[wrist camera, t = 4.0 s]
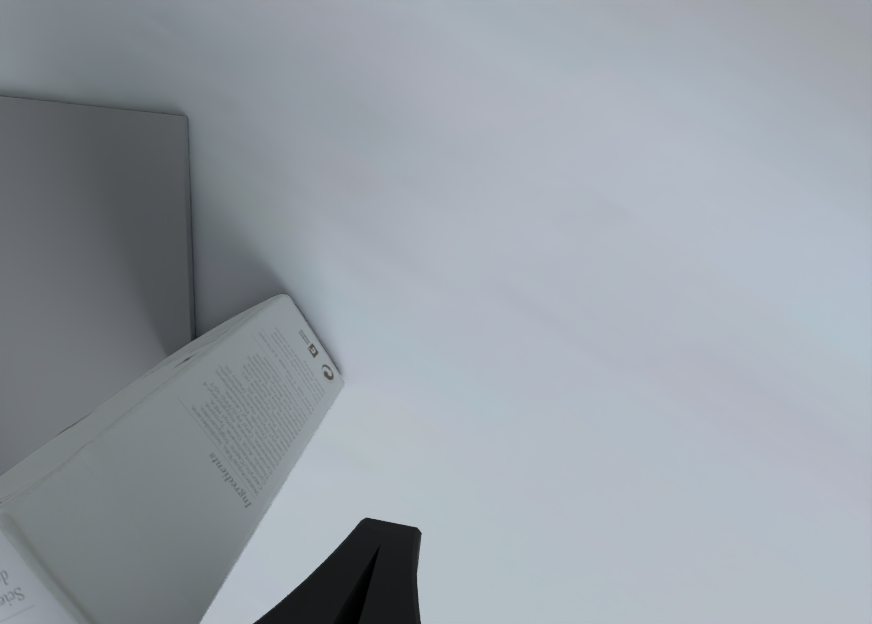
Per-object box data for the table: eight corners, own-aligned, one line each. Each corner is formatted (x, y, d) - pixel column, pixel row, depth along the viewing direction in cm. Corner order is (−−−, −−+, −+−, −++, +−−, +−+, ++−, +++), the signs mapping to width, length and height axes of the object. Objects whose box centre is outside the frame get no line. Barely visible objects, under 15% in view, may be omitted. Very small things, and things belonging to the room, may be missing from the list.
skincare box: (285, 284, 20) (-19, 491, 8) (353, 387, 21) (165, 703, 9) (158, 360, 21) (-250, 625, 10) (227, 453, 22) (-72, 795, 11)
